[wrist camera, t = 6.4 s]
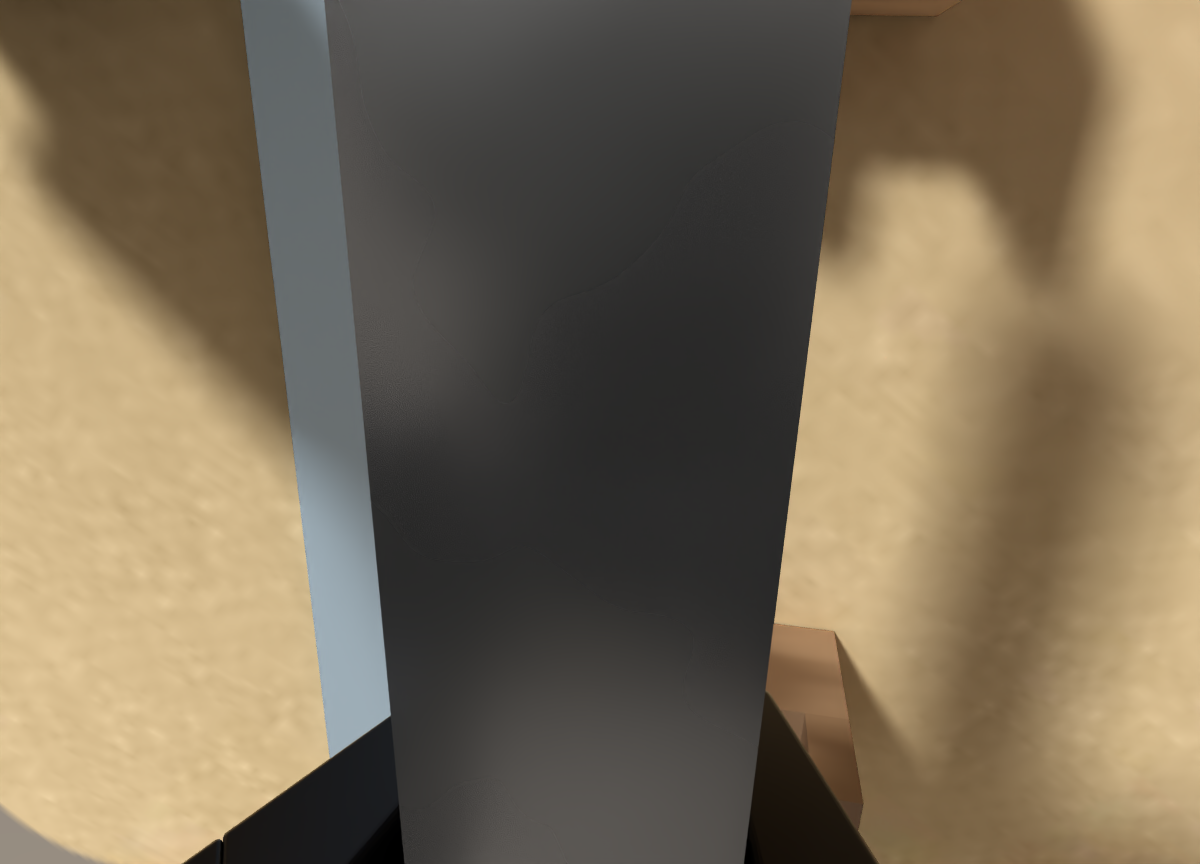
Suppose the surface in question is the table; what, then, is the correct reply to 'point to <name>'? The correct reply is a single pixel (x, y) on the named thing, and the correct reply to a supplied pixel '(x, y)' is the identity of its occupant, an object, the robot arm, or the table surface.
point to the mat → (319, 353)
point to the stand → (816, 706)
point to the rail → (581, 400)
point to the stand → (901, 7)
